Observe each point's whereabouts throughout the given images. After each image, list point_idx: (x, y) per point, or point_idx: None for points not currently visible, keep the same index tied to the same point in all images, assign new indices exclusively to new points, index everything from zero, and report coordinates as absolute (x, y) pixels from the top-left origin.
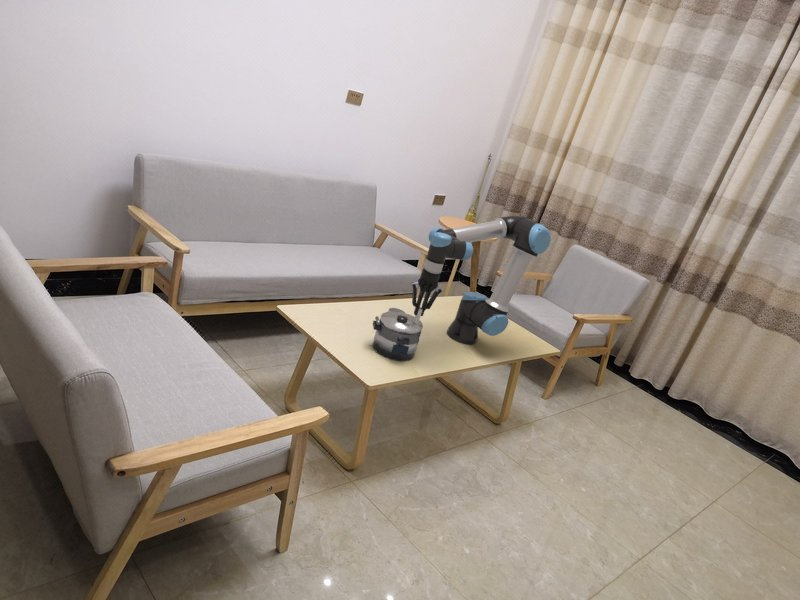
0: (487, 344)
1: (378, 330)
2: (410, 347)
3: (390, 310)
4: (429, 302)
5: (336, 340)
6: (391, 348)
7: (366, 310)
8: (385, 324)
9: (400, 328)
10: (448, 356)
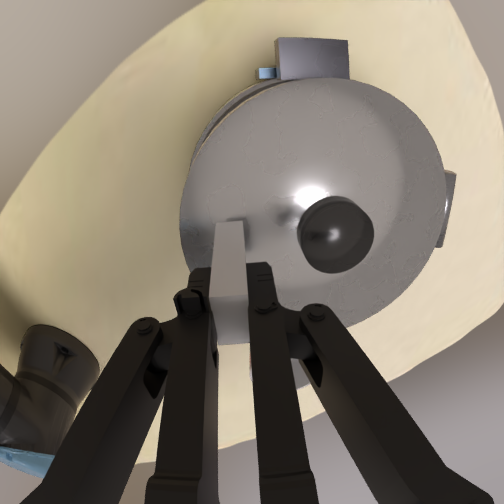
0: (6, 339)
1: None
2: (243, 91)
3: (305, 376)
4: (143, 388)
5: (474, 168)
6: None
7: None
8: (435, 150)
9: (364, 101)
10: (67, 222)
